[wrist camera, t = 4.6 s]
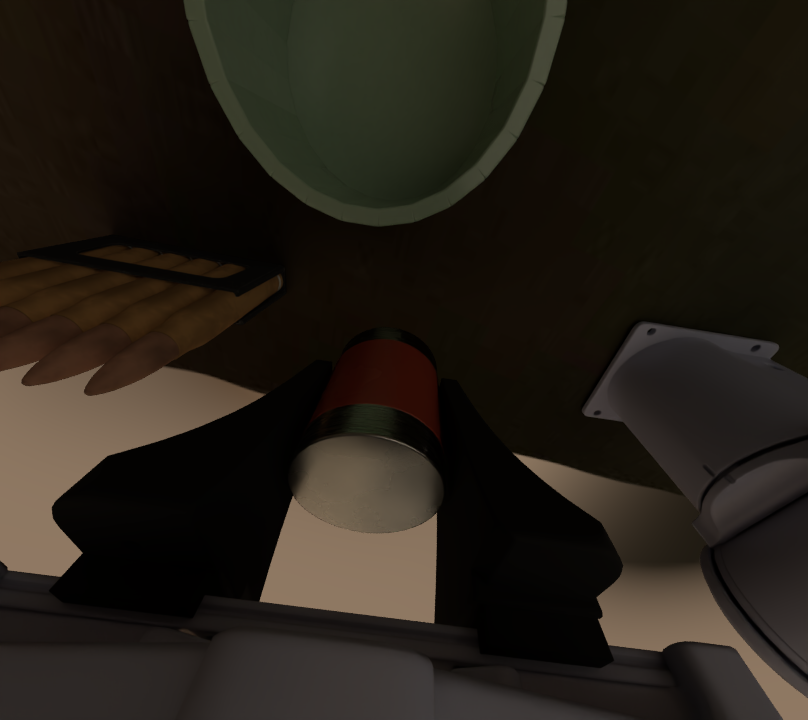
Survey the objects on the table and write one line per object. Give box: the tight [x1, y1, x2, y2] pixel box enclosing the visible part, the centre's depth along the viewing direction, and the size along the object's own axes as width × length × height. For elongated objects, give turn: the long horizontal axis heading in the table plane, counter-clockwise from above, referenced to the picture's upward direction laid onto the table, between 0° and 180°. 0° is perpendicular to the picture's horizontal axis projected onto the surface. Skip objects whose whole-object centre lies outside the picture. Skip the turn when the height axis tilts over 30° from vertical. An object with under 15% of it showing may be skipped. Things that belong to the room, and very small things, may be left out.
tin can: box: [287, 327, 446, 533], centre depth 11 cm, size 4×4×6 cm
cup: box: [183, 0, 567, 227], centre depth 11 cm, size 10×10×6 cm
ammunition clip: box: [0, 235, 286, 396], centre depth 13 cm, size 11×2×12 cm, turn 80°
